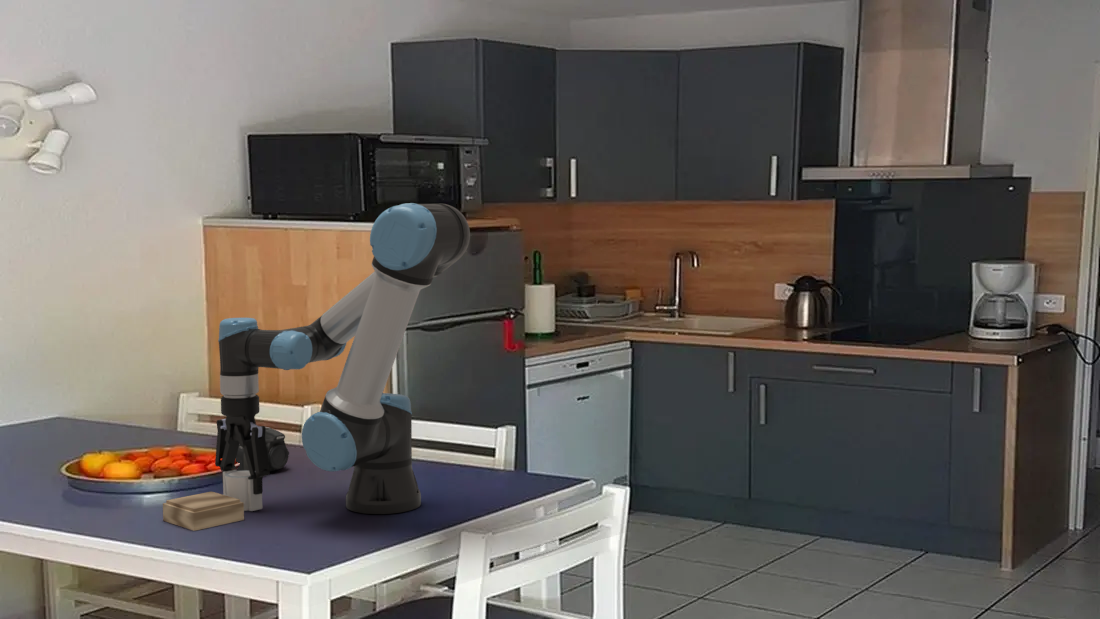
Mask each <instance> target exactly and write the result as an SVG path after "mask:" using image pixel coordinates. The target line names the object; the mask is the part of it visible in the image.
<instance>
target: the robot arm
mask: <svg viewBox="0 0 1100 619" xmlns="http://www.w3.org/2000/svg"><path fill="white" fill-rule="evenodd" d="M470 231H471V230H470V225H469V223H468V221H467V219H466V217H465V215H464V214H463V213H462V212H461V211H460V210H459V209H458V208H456V207H454V206H452V205H449V204H446V203H414V202H410V203H401V204H399V205H397V204H396V205H393V206H391V207H389V208H387V209H385V210H384V211H382V212H381V213H380V214H379V215H378V217H377V218H376V219H375V221H374V222H373V225H372V227H371V230H370V233H369V234H370V236H369V246H370V247H371V252H372V255H373V258H372V261H371V266H372V269H373V270H374V271H373V272H372V273H371V274H370V275H368V276H367V277H366V278H365V279H364V280H362V281H361V282H360V283H359V284H357V285H356V286H355V287H354V288H353V289H351V290H350V291H349V292H348V293H346V295H344V296H343V297H342V298H340V299H339V300H338V301H337V302H336V303H335V304H334V305H332V306H331V307H330V308H329V309H328V310H326V311H325V312H324V313H323V314H322V315H320V316H319V317H318V318H316V320H314V321H313V322H312V323H311V324H308V325H304V326H298V327H293V328H292V327H291V328H285V329H261V328H259V326H258V321H257V319H256V318H253V317H229V318H224V319H223V320H220V322H219V328H218V329H219V331H218V339H217V340H218V341H217V342H218V349H219V366H220V367H219V368H220V372H219V389H220V390H219V392H220V394H221V395H223V396H221V398H220V414H221V415H222V416H224V417H225V418H224V419H217V420H216V427H217V428H216V429H217V435H216V436H217V437H216V446H215V457H214V458H215V459H214V465H215V467H219V468H220V471H221V473H222V476H221V477H222V480H221V481H222V490H223V492H222V495H226V496H227V488H226V480H225V474H226V473H229V472H233V471H237V469H236V456H237V452H238V448H239V445H240V446H241V447H243V450H244V454H245V457H246V461H247V465H248V468H249V472H250V476H249V477H248V498H249V510H248V511H249V512H253V511H254V512H255V511H258V510H262V509H263V491H264V490H263V478H264V477H266V476H269V475H270V472H269V464H268V457H267V449H266V442H265V431H266V428H265V427H266V426H264V425H257V423H256V416H257V415H258V414H259V413H260V396H259V395H258V393H259V391H260V388H259V368H266V369H278V370H284V371H289V370H302V369H304V368H305V367H306V365H308V364H310V363H315V362H320V361H329V360H332V359H333V358H336V357H338V356H340V355H342V353H343V352H344V351H345V349H346V346H347V343H348V342H349V341H350V340H352V339H353V341H352V343H351V346H350V349H349V352H348V354H347V357H346V360H345V363H344V365H343V369H342V372H341V374H340V376H339V380H338V383H337V386H336V387H334V388H331V389H329V390H328V391H327V392H326V394H325V395H324V399H323V402H322V404H321V408H320V410H319V411H317V412H315V413H312V415H310V416H309V417H308V418H307V419H306V420H305V422H304V423H303V426H302V429H301V442H302V443H301V444H302V447H303V449H304V450H305V453H306V455H307V458H308V459H309V460H310V461H311V462H312V464H313V465H314V466H316V467H317V468H319V469H321V470H324V471H327V472H339V471H346V470H349V469H351V468H353V472H352V475H351V478H350V482H349V487H348V490H347V493H346V495H345V507H346V509H347V510H349V511H352V512H354V513H358V514H367V515H389V514H390V515H391V514H397V513H398V514H399V513H404V512H405V513H406V512H409V511H412V510H415V509H417V508H419V507H420V506H421V505H422V495H421V494H422V493H421V490H420V489H419V486H418V485H419V484H418V481H417V479H416V476H415V472H414V469H413V464H412V463H413V461H412V458H413V456H412V454H413V451H412V450H413V448H412V447H413V446H412V444H413V443H412V442H413V439H412V437H413V434H412V424H413V423H412V421H413V420H412V416H413V412H412V404H411V403H412V402H411V400H410V398H409V397H408V396H407V395H405V394H399V393H388V392H387V393H385V392H384V390H385V388H386V385H387V383H388V380H389V377H390V375H391V372H392V368H393V367H394V364H395V360H396V357H397V355H398V352H399V349H400V346H401V344H402V341H403V338H404V336H405V333H406V331H407V328H408V325H409V322H410V319H411V316H412V313H413V311H414V308H415V305H416V303H417V300H418V297H419V294H420V292H421V290H423V289H425V288H427V287H429V286H431V284H432V283H433V279H434V278H436V277H438V276H440V274H442V273H443V272H445V271H446V270H447V269H448V268H450V266H452V265H454V264H455V263H456V262H457V261H458V260H460V259H461V258H462V257H463V255H464V254H465V252H466V251H467V249H468V247H469V245H470V241H471V240H470V239H471V232H470ZM250 439H251V441H250ZM263 469H264V470H263ZM255 471H256V472H255Z"/></svg>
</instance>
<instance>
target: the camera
mask: <svg viewBox="0 0 1100 619" xmlns="http://www.w3.org/2000/svg"><path fill="white" fill-rule="evenodd" d="M265 428H266V431H265V442H266V449H267V457H268V464H269V472H274V471H278V470H281V469H283V468H284V467H285V466H286V465H287V462H288V461H289V457H290V456H289V455H290V452H289V449H288V447H287V446H286V443H285V438H286V435H285V433H283V432H282V431H279V430H277V429H274V428H272V427H267V426H265ZM250 441H251V439H250ZM236 462H238V463H240V466H239V467H238V469H236V471H241V470H249V468H248V465H247V461H246V457H245V454H244V450H243V447H241V446H240V444H239V448H238V452H237V456H236V460H235V463H236ZM263 470H264V469H263Z"/></svg>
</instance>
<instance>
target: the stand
mask: <svg viewBox="0 0 1100 619" xmlns="http://www.w3.org/2000/svg"><path fill="white" fill-rule="evenodd" d="M244 520H245V511H244V503H243V502H240V499H236V498H233V497H229V496H226V495H223V493H218V492H216V491H215V492H214V491H206V492H202V493H196V494H192V495H187V496H182V497H175V498H172V499H166V502H163V503H162V521H163V522H166V523H169V524H172V525H176V526H178V527H182V528H184V529H186V530H187V529H188V530H190V531H193V532H194V531H199V530H200V531H201V530H204V529H208V528H213V527H217V526H223V525H227V524H231V523H235V522H239V521H244Z"/></svg>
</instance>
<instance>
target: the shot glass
mask: <svg viewBox="0 0 1100 619" xmlns="http://www.w3.org/2000/svg"><path fill="white" fill-rule="evenodd" d="M255 472H256V471H255ZM249 476H250V472H249V470H241V471H237V470H236V471H233V472H229V473H226V474H225V480H226V488H227V496H229V497H233V498H236V499H240V502H243V503H244V512H245V511H249V498H248V477H249Z"/></svg>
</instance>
